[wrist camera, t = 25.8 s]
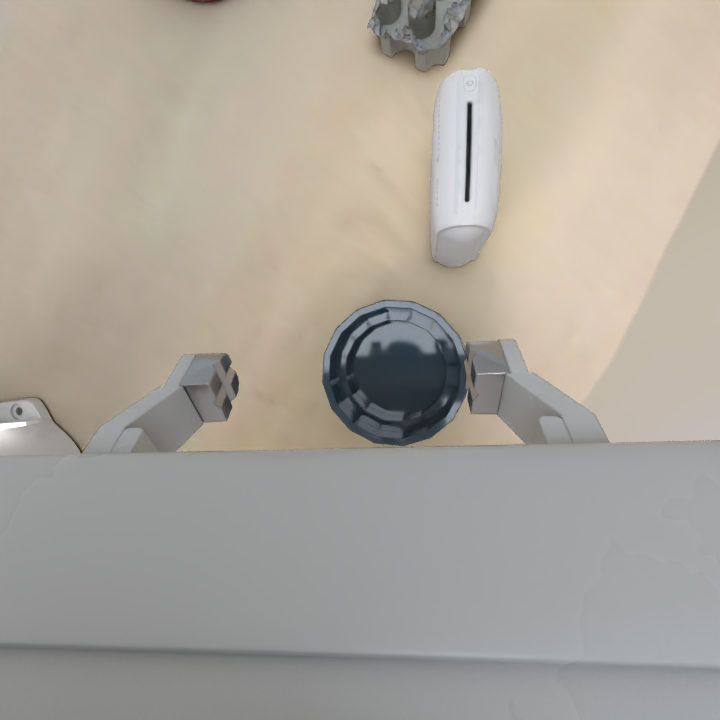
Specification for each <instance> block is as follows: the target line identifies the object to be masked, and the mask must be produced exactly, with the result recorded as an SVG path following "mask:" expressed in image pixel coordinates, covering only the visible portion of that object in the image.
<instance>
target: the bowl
mask: <svg viewBox="0 0 720 720" xmlns="http://www.w3.org/2000/svg"><path fill="white" fill-rule="evenodd" d="M466 359H467V358H466V354H465V351H464V348H463V345H462V342H461V339H460V337H459V335H458V334H457V333H456V332H455V331H454V329H453V328H452V327H451V326H450V325H449V324H448V323H447V322H446V321H445V319H444V318H443V317H442V316H441V315H440V314H439V313H437V312H434V311H432V310H430V309H428V308H426V307H424V306H422V305H420V304H418V303H415V302H412V301H396V300H382V301H379V302H377V303H374V304H371V305H368V306H366V307H363V308H360V309H358V310H356V311H355V312H354V313H353V314H352V315H350V316H349V317H348V318H347V319H346V320H345V321H344V322H343V323H342V324H341V325H339V326H338V327H337V328H336V330H335V332H334V334H333V336H332V338H331V340H330V342H329V344H328V347H327V349H326V351H325V353H324V361H323V379H322V382H323V385H324V388H325V391H326V394H327V397H328V400H329V403H330V406H331V408H332V410H333V411H334V412H335V413H336V415H337V416H338V417H339V418H340V419H341V420H342V422H343V423H344V424H345V425H346V426H347V427H348V429H350V430H351V431H352V432H354V433H356V434H358V435H360V436H362V437H364V438H366V439H368V440H369V441H371V442H373V443H378V444H388V445H397V446H405V445H408V444H412V443H415V442H419V441H422V440H426V439H429V438H431V437H432V436H434V435H435V434H436V433H437V432H439V431H440V430H441V429H442V428H443V427H445V426H446V425H447V424H448V423H450V422H451V421H452V420H453V419H454V417H455V415H456V413H457V411H458V409H459V408H460V406H461V404H462V402H463V400H464V398H465V396H466V393H467V390H466V389H465V384H464V374H463V368H464V361H465V360H466Z"/></svg>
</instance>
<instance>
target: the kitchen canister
mask: <svg viewBox="0 0 720 720" xmlns="http://www.w3.org/2000/svg"><path fill="white" fill-rule="evenodd" d="M194 1H200V2H208V1H216V0H194Z"/></svg>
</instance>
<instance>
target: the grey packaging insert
mask: <svg viewBox="0 0 720 720" xmlns="http://www.w3.org/2000/svg"><path fill="white" fill-rule="evenodd" d="M471 2H472V0H376V4H375V7H374V10H373V14H372V19H370V20H369V23H368V26H367V28H368V27H370V28H372V30H373V31H374V33H375V34H376V35H378V37H379V38H380V40H381V47H382V53H384V54H386V55H388V56H390V57H393V55H394V54H395V53H397V52H398V51H401V50H410V51H411V52H413V53H414V55H415V67H416V68H418V69H420V70H422V71H426V70H427V69H428V68H429V67H431V66H433V65H437V64H440V65H444V64H445V63H446V61H447V59H448V57H449V54H450V42H451V35H452V34H454V32H455V31H456V29H457V27H464V26H465V24H466V22H467V20H468V18H469V15H470V7H471Z"/></svg>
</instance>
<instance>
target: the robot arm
mask: <svg viewBox="0 0 720 720" xmlns="http://www.w3.org/2000/svg"><path fill="white" fill-rule="evenodd" d="M465 353H466V358H467V359H466V360H465V361H464V368H463V374H464V384H465V389H466V390H467V391H468V403H469V407H470V412H471V414H498V416H499V417H500V418H501V419H502V420H503V421H504V422H505V423H506V424H507V425H508V426H509V427H510V428H511V429H512V430H513V431H514V433H515V434H516V435H517V436H518V437H519V438H520V439H521V440H522V441H523V442H524V443H525V444H526V445H479V446H438V447H387V448H338V449H293V450H247V451H201V452H175V451H177V450H178V449H179V448H180V447H181V446H182V445H183V444H184V443H185V442H186V441H187V440H188V439H189V438H190V437H191V436H192V435H193V434H194V433H195V432H196V431H197V430H198V429H199V428H200V427H201V426H202V425H203V424H204V423H203V422H221V421H227V419H228V417H229V414H230V412H231V409H232V405H231V402H230V401H232V400H233V399H234V398H235V397H236V396H237V393H238V387H239V381H238V376H237V373H236V371H235V370H233V369H232V368H231V367H230V364H231V359H230V357H229V355H228V354H226V353H211V354H185V355H183V356H181V358H180V360H179V361H178V363H177V365H176V366H175V368H174V370H173V371H172V373H171V375H170V377H169V378H168V380H167V382H166V383H165V385H164V387H159V388H157V389H156V390H154V391H153V392H151V393H150V394H148V395H147V396H145V397H144V398H142V399H141V400H139V401H138V402H136V403H135V404H133V405H132V406H130V407H129V408H127V409H126V410H124V411H123V412H121V413H120V414H119V415H117V416H116V417H114V418H113V419H111V420H110V421H108V422H107V423H105V424H104V425H102V426H101V427H99V428H98V430H97V431H96V433H95V434H94V436H93V437H92V439H91V440H90V442H89V443H88V445H87V446H86V448H85V449H84V451H83V452H82V454H81V453H80V451H79V449H78V448H77V446H76V445H75V443H74V442H73V441H72V439H71V438H70V437H69V436H68V435H67V434H66V433H65V432H64V431H63V430H61V429H60V428H59V427H58V426H57V425H56V424H55V423H54V422H53V420H52V418H51V416H50V415H49V413H48V411H47V409H46V407H45V406H44V404H43V403H42V402H41V401H40V400H39V399H37V398H26V399H18V400H10V401H2V402H0V720H720V440H712V441H668V442H621V443H610V442H609V440H608V438H607V437H606V435H605V433H604V431H603V429H602V427H601V425H600V423H599V421H598V419H597V417H596V415H595V414H594V413H593V412H591V411H590V410H588V409H587V408H585V407H584V406H582V405H581V404H579V403H578V402H576V401H575V400H573V399H572V398H570V397H569V396H567V395H566V394H565V393H563V392H562V391H560V390H559V389H557V388H556V387H554V386H553V385H551V384H550V383H548V382H547V381H545V380H544V379H542V378H541V377H539V376H538V375H536V374H535V373H529V372H528V370H527V367H526V365H525V362H524V360H523V357H522V355H521V352H520V350H519V347H518V345H517V342H516V340H514V339H506V340H498V341H497V340H496V341H477V342H467V343H466V348H465Z"/></svg>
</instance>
